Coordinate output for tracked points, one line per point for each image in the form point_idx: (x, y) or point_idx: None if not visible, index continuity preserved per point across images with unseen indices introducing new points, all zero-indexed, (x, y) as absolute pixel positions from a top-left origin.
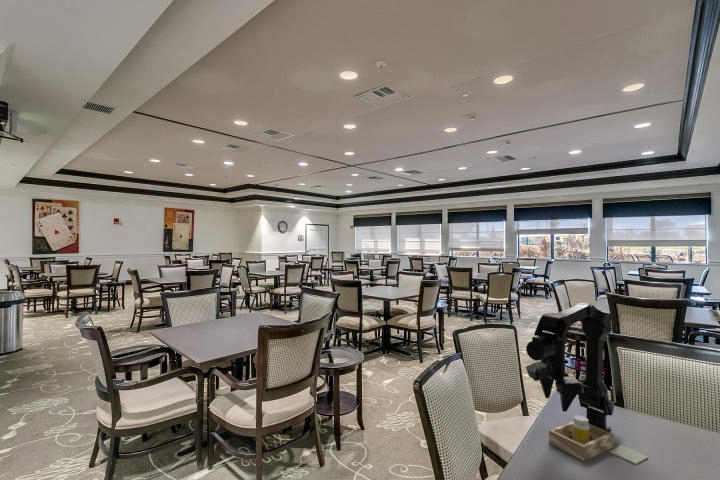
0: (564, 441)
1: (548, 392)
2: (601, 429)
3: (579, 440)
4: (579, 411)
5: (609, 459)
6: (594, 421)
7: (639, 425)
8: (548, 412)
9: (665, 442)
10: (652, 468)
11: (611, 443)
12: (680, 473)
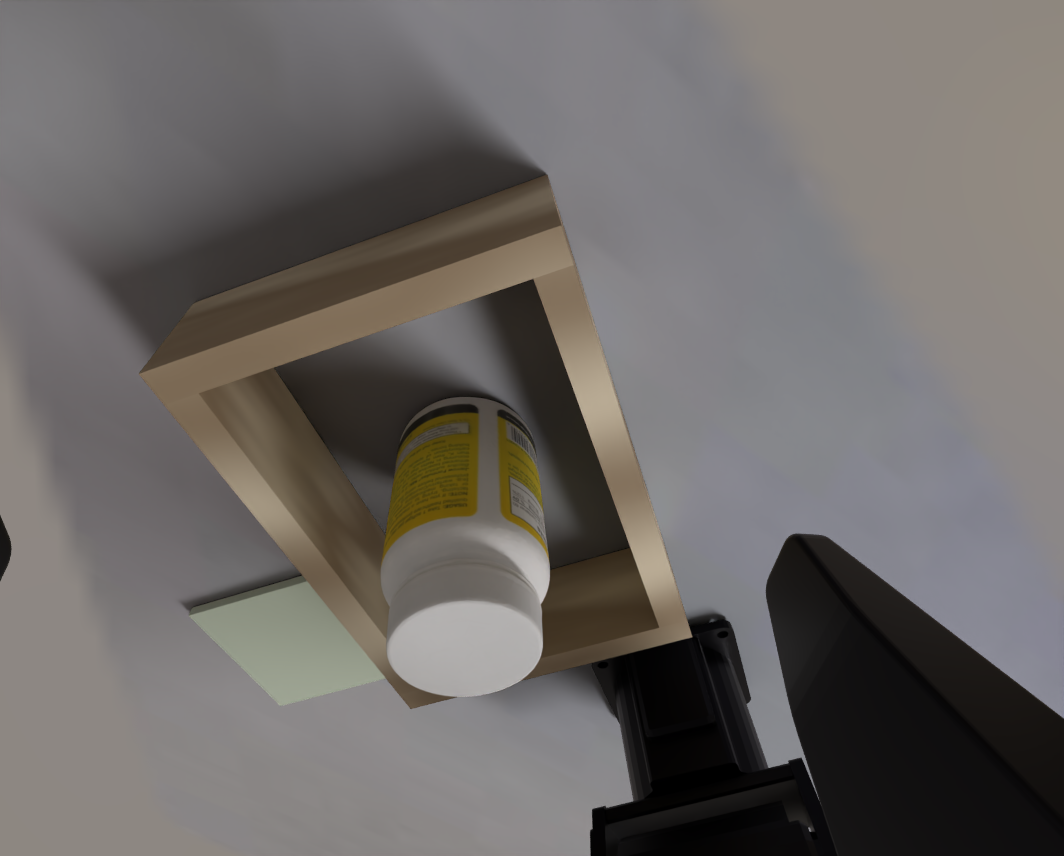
0: (364, 278)
1: (833, 714)
2: None
3: (416, 449)
4: None
5: None
6: (642, 706)
7: None
8: (1008, 527)
9: (448, 828)
10: (164, 657)
11: None
12: (134, 731)
